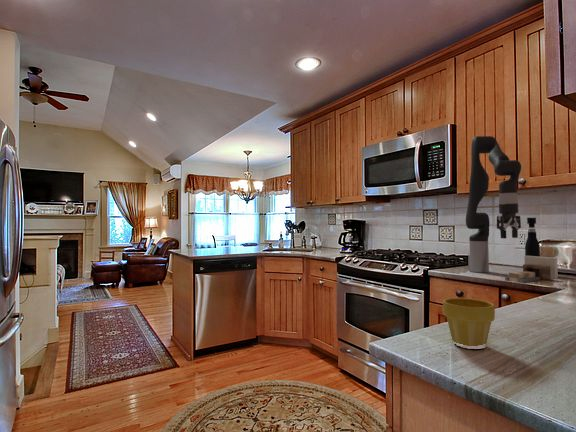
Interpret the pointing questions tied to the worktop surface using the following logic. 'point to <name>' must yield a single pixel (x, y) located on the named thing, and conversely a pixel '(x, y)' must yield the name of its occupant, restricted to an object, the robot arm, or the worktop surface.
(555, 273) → the backstop board
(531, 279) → the guide rails
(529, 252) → the wine bottle
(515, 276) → the peg
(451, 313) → the plant pot
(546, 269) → the block
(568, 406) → the worktop surface
